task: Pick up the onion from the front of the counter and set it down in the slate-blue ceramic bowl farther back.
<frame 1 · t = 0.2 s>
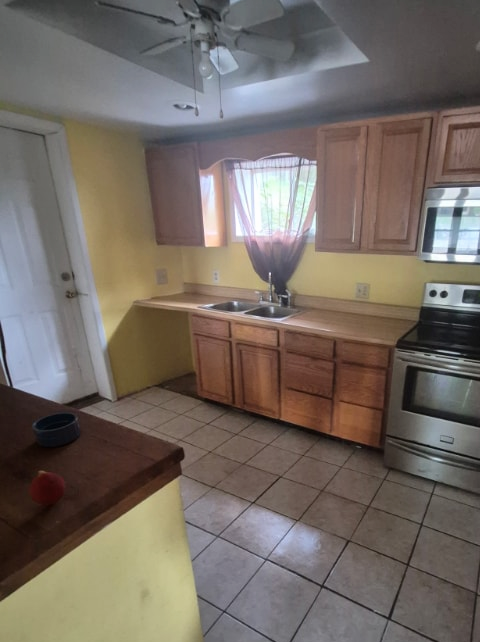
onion: (52, 504, 74), on the table
bowl: (60, 438, 96), on the table
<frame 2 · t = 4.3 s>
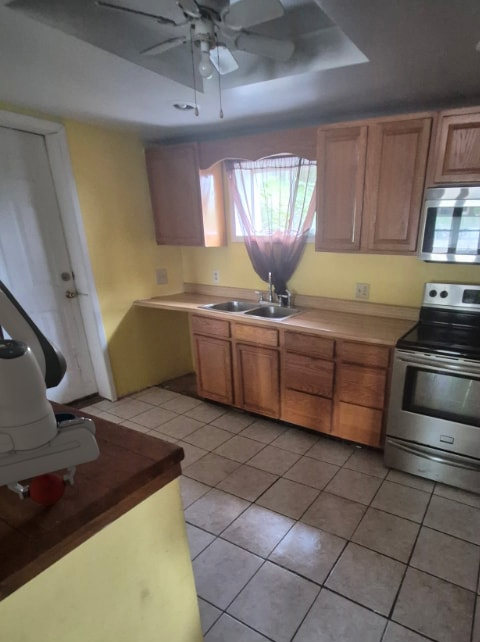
hand: (48, 490, 73), 3 cm above the table, tool pointing down, fingers closed on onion, 6 cm apart
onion: (52, 504, 74), on the table, touching gripper
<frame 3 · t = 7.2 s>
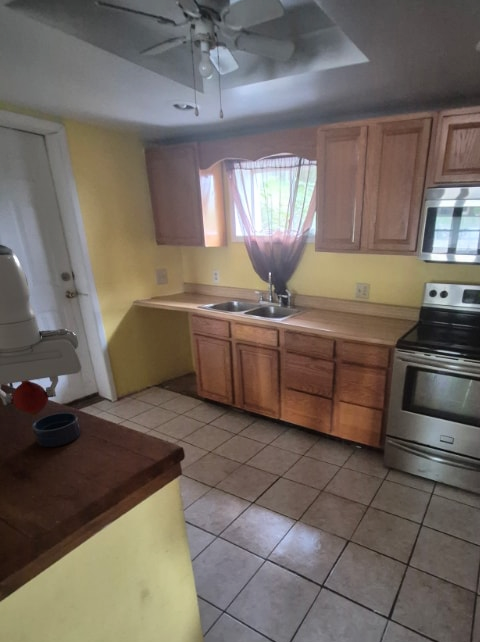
hand: (30, 399, 75), 18 cm above the table, tool pointing down, fingers closed on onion, 6 cm apart
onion: (35, 415, 77), point 15 cm above the table, touching gripper
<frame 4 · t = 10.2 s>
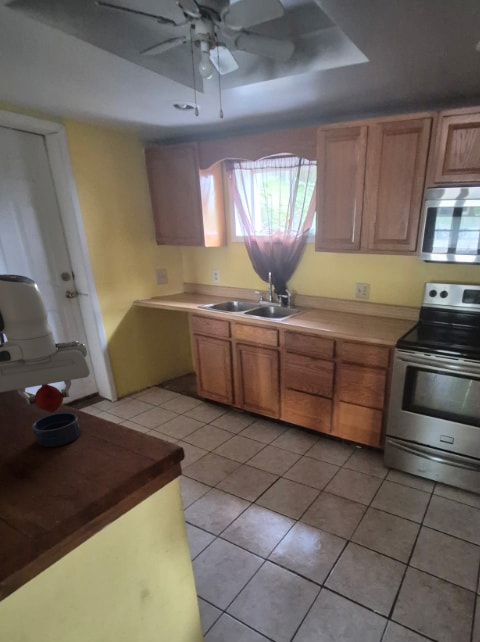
hand: (49, 399, 92), 11 cm above the table, tool pointing down, fingers closed on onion, 6 cm apart
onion: (53, 412, 93), point 8 cm above the table, touching gripper
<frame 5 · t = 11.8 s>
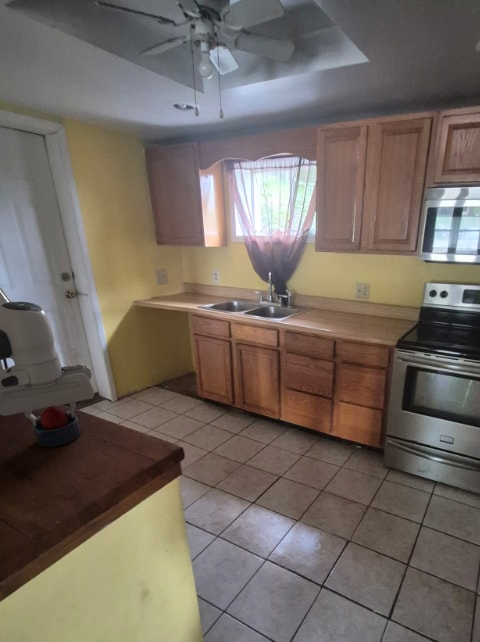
hand: (54, 421, 94), 5 cm above the table, tool pointing down, fingers closed on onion, 6 cm apart
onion: (58, 433, 96), point 2 cm above the table, touching gripper
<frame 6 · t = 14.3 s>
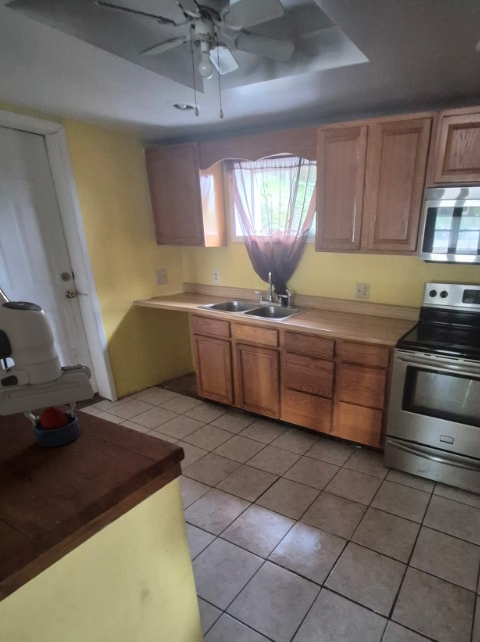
hand: (54, 420, 94), 5 cm above the table, tool pointing down, fingers closed on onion, 6 cm apart
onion: (57, 432, 96), point 2 cm above the table, touching gripper
when the fingers open (5 cm above the table, at t = 16.3 s): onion drops 1 cm, resting on bowl.
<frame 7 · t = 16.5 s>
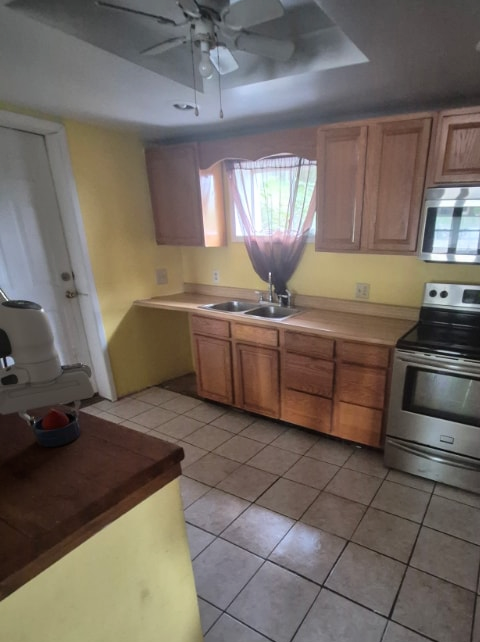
hand: (54, 419, 94), 5 cm above the table, tool pointing down, fingers open, 8 cm apart
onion: (58, 436, 96), resting on bowl
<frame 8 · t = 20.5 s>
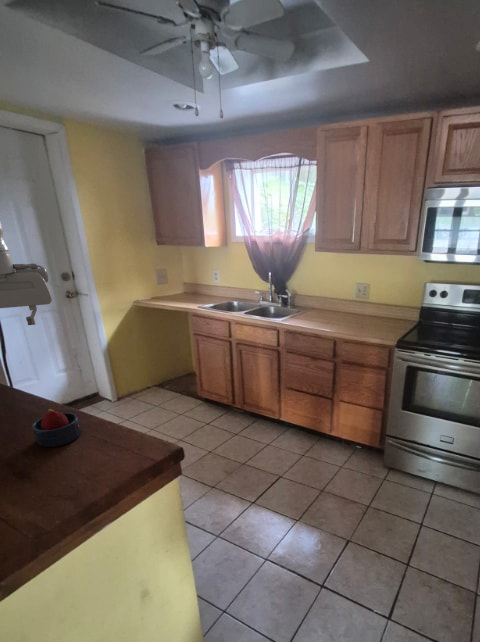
hand: (7, 327, 86), 29 cm above the table, tool pointing down, fingers open, 8 cm apart
nothing on the table moved.
at the end: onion 0.2 cm off-centre in the bowl, point 0.4 cm above the bowl's base; the gripper is holding nothing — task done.
